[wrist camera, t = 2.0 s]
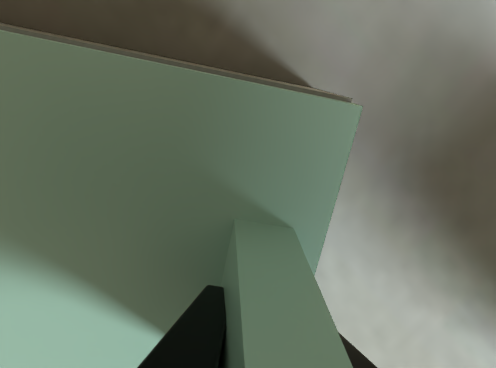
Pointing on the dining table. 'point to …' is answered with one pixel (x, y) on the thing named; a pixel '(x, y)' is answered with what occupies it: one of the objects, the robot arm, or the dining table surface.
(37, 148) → the lid
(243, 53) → the dining table surface
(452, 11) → the dining table surface
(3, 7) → the dining table surface
